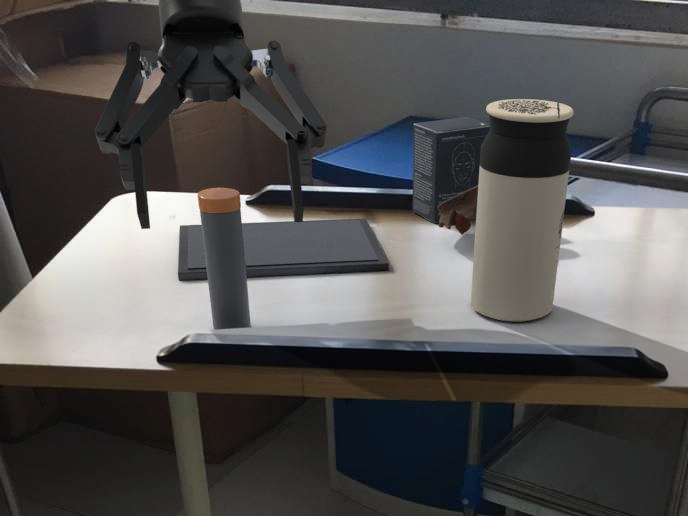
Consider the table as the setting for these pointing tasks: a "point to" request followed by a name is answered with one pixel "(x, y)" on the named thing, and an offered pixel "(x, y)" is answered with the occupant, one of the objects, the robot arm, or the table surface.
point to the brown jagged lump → (459, 210)
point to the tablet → (291, 248)
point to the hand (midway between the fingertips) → (222, 218)
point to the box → (445, 161)
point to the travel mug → (520, 209)
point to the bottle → (225, 257)
